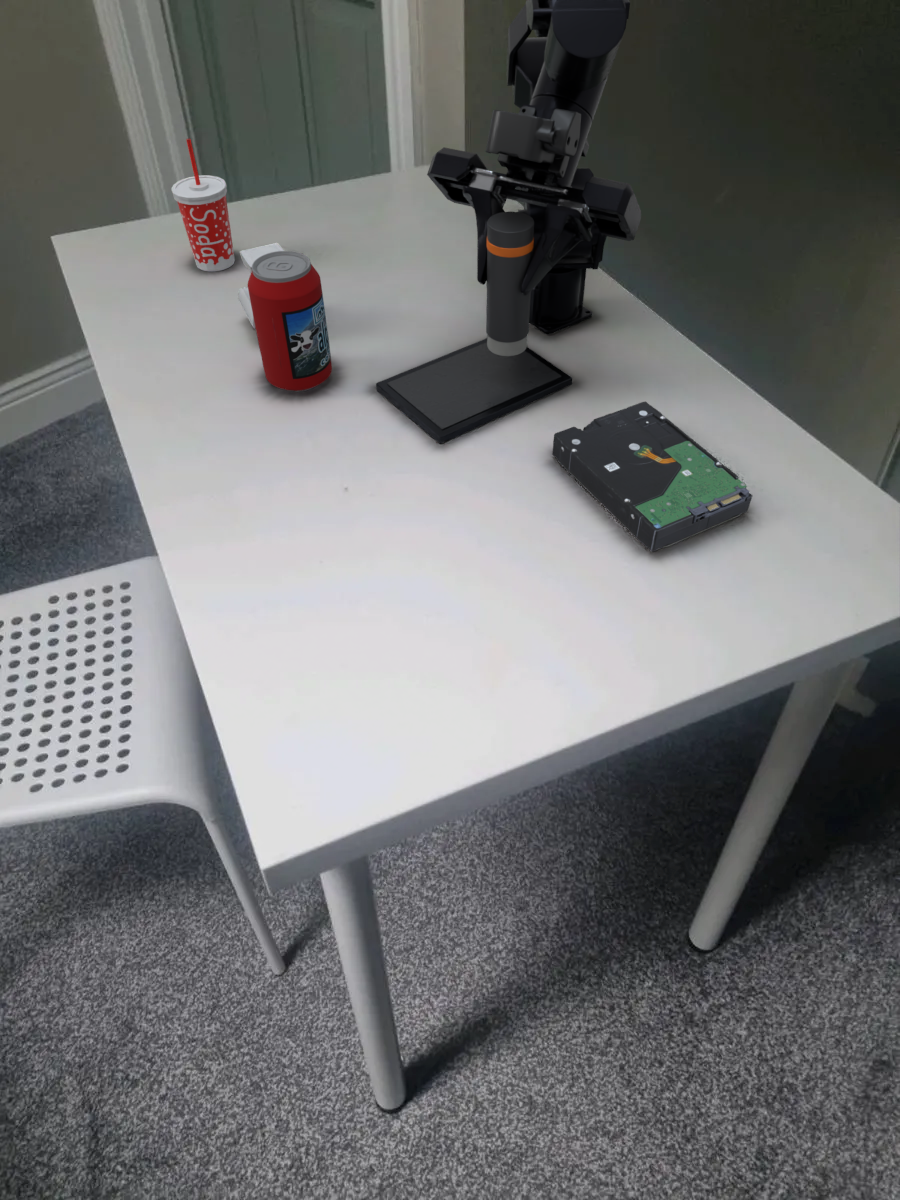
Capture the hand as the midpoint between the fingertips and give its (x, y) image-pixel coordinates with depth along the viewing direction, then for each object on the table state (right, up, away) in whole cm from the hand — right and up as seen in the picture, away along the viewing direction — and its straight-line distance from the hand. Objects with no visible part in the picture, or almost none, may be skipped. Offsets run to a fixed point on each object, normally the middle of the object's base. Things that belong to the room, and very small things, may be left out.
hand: (501, 288), depth 80 cm
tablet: (-2, -7, +9) cm, 11 cm away
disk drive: (+12, -18, -2) cm, 22 cm away
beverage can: (-20, -6, +10) cm, 23 cm away
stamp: (-23, +2, +17) cm, 29 cm away
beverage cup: (-33, +13, +28) cm, 45 cm away
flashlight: (+1, -4, +6) cm, 7 cm away
